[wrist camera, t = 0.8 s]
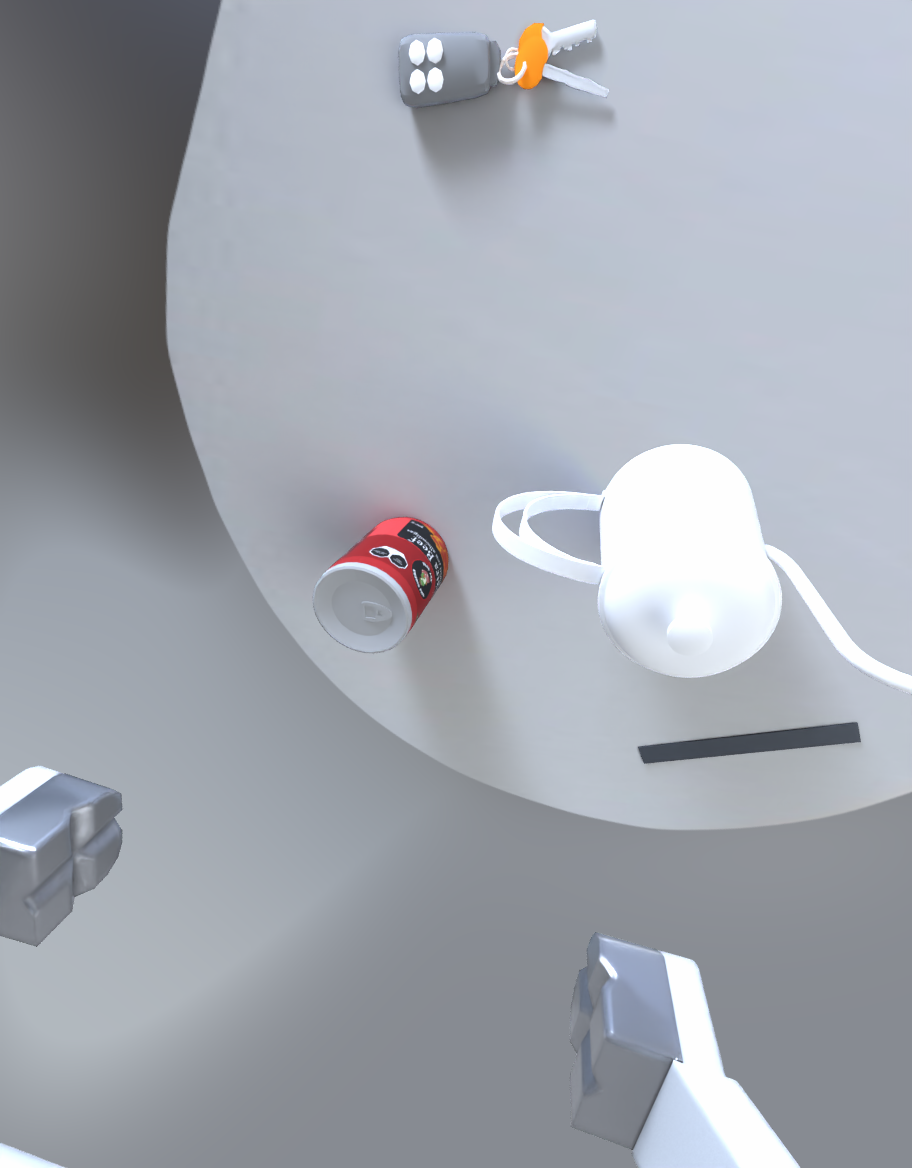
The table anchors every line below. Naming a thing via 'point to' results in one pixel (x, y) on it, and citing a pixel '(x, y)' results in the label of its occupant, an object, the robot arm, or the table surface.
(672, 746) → the tape line
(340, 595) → the canned food
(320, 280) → the table surface
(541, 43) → the key chain
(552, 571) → the coffeepot
